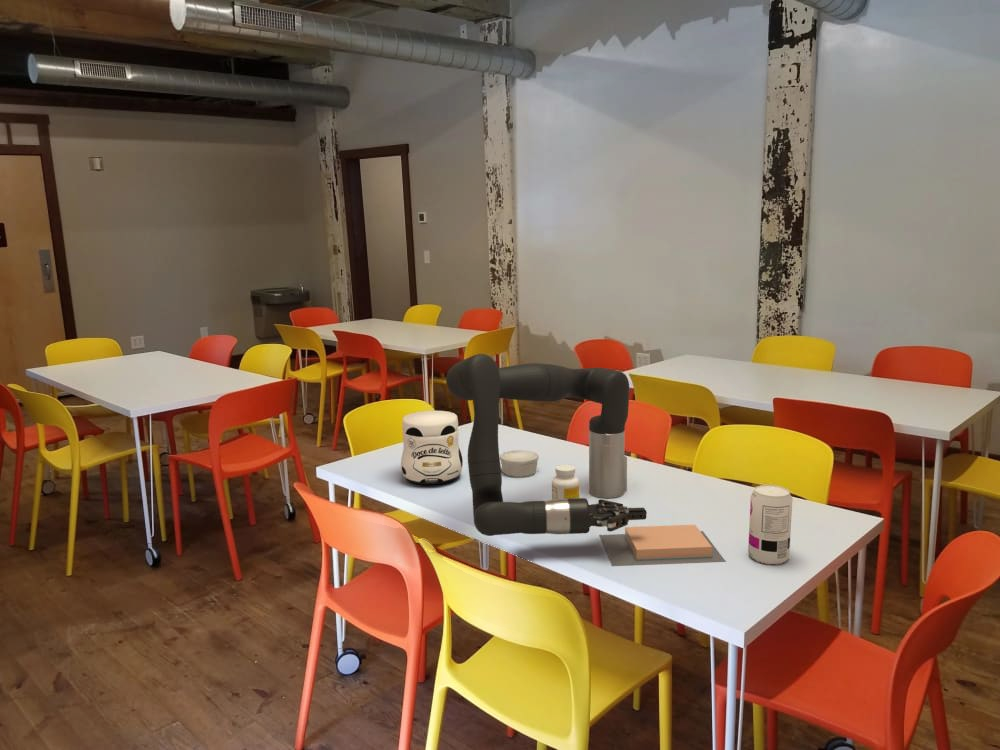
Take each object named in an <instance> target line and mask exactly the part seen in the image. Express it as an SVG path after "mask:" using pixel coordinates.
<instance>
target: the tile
mask: <svg viewBox="0 0 1000 750" xmlns="http://www.w3.org/2000/svg"><path fill="white" fill-rule="evenodd" d="M700 531H701V530H700V529H699V528H698V526H697V525H696V524H679V525H676V524H675V525H673V524H672V525H648V526H624V534H625V539H626V541H627V543H628V545H629V547H630V549H631V551H632V553H633V555H634V557H635V559H636V561H644V560H670V559H696V558H712V546H711V545H710V544H709V542H708V541H707V540H706V538H705V537H704V536H703V534H702V533H701V532H700Z"/></svg>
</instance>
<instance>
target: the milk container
mask: <svg viewBox="0 0 1000 750" xmlns="http://www.w3.org/2000/svg"><path fill="white" fill-rule="evenodd" d="M401 428H402V440H403V442H402V443H403V450H402V455H401V459H400V468H401V471H402V476H403V477H404V478H405V479H406V480H408V481H409V482H412V483H415V484H419V485H436V484H437V485H439V484H444V483H445V484H446V483H448V482H450V481H454V480H455V479H457V478H458V477H459V476H460V475H461V473H462V471H463V455H462V452H461V447H460V443H459V441H460V440H459V437H460V436H459V433H460V432H459V420H458V415H457V414H455V413H454V412H451V411H445V410H423V411H416V412H412V413H408V414H406V415H404V416H403V418H402V427H401Z"/></svg>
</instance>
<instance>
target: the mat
mask: <svg viewBox="0 0 1000 750" xmlns="http://www.w3.org/2000/svg"><path fill="white" fill-rule="evenodd" d="M700 532H701V533H702V534H703V536H704V537H705V538H706V540H707V541H708V542H709V544H710V545H711V546H712V558H696V559H670V560H644V561H636V559H635V557H634V555H633V553H632V551H631V549H630V547H629V545H628V543H627V541H626V539H625V533H618V534H617V533H616V534H615V533H613V534H599V535H598V537H599V538H600V540H601V543H602V546H603V548H604V550H605V553H606V555H607V557H608V559H609V560H608V561H610V564H611V567H623V566H624V567H626V566H651V565H653V566H655V565H675V564H676V565H679V564H680V565H681V564H703V563H705V564H706V563H708V564H709V563H726V562H727V561H726V560H725V558H724V557H723V556H722V554H721V553H720V551H718V549H717V548H716V547H715V545H714V543H713V542H712V541H711V540H710V538H709V537H708V536H707V534H705V532H704V531H703V530H700Z"/></svg>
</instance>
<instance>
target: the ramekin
mask: <svg viewBox="0 0 1000 750" xmlns="http://www.w3.org/2000/svg"><path fill="white" fill-rule="evenodd" d="M499 457H500V465H501V470H502V472H503V474H505V475H506V476H507V477H511V478H527V477H526V476H528V477H531V476H533V475H534V474H535V473H536V471H537V469H538V468H537V467H538V460H539V457H540V456H539V454H538V452H535V451H532V450H525V449H515V450H508V451H507V450H506V451H504V452H502V453H500V454H499Z"/></svg>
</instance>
